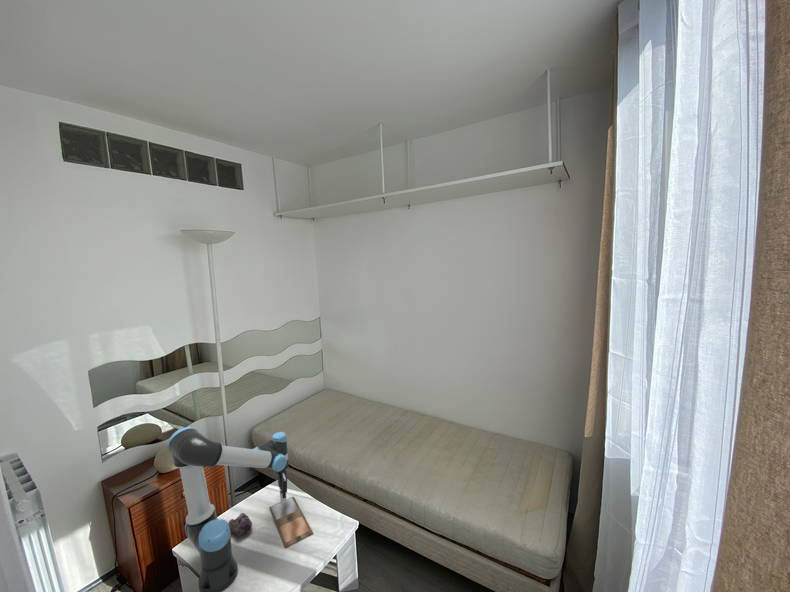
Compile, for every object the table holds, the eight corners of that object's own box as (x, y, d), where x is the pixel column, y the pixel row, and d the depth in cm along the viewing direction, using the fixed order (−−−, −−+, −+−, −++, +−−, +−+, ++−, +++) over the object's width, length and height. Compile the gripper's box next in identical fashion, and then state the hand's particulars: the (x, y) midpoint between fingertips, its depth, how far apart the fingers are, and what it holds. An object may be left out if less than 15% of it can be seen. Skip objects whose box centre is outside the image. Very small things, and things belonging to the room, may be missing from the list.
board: (285, 548, 154) (285, 547, 154) (269, 508, 182) (268, 507, 182) (313, 533, 162) (313, 532, 162) (293, 497, 189) (293, 496, 189)
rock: (230, 535, 156) (246, 543, 160) (243, 516, 161) (258, 524, 165) (223, 525, 165) (238, 533, 169) (236, 507, 169) (250, 515, 174)
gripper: (291, 464, 174) (294, 506, 176) (284, 452, 186) (286, 491, 188) (277, 469, 170) (280, 512, 171) (270, 457, 182) (273, 497, 183)
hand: (283, 501), depth 180 cm, fingers closed
